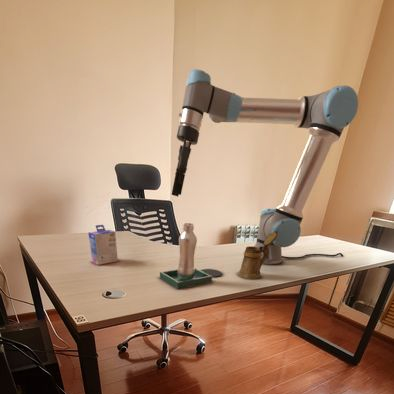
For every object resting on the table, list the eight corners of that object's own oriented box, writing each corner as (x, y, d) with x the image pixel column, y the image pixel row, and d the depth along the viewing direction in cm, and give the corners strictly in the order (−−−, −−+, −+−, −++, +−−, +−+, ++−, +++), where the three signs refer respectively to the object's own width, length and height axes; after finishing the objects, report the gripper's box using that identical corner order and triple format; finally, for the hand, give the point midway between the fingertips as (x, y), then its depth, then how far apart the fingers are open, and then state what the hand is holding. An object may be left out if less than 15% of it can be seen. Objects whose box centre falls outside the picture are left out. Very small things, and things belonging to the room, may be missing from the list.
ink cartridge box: (111, 258, 134) (108, 223, 126) (118, 261, 131) (116, 225, 123) (91, 262, 128) (86, 225, 120) (98, 265, 125) (94, 228, 117)
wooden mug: (273, 279, 125) (283, 233, 115) (242, 279, 122) (249, 232, 113) (265, 272, 132) (273, 228, 122) (235, 271, 130) (242, 227, 120)
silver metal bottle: (176, 276, 119) (178, 221, 108) (193, 276, 120) (197, 222, 109) (177, 281, 114) (179, 225, 103) (195, 282, 114) (198, 226, 104)
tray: (192, 272, 125) (192, 266, 124) (211, 282, 117) (212, 276, 116) (159, 278, 117) (159, 272, 116) (177, 289, 109) (177, 282, 107)
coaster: (212, 268, 131) (212, 268, 131) (226, 275, 125) (226, 274, 125) (195, 271, 126) (195, 270, 126) (208, 278, 120) (209, 277, 120)
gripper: (176, 133, 116) (165, 193, 123) (181, 114, 93) (167, 189, 101) (195, 139, 117) (182, 198, 125) (204, 122, 95) (189, 196, 103)
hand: (175, 194), depth 113 cm, fingers open, 13 cm apart
